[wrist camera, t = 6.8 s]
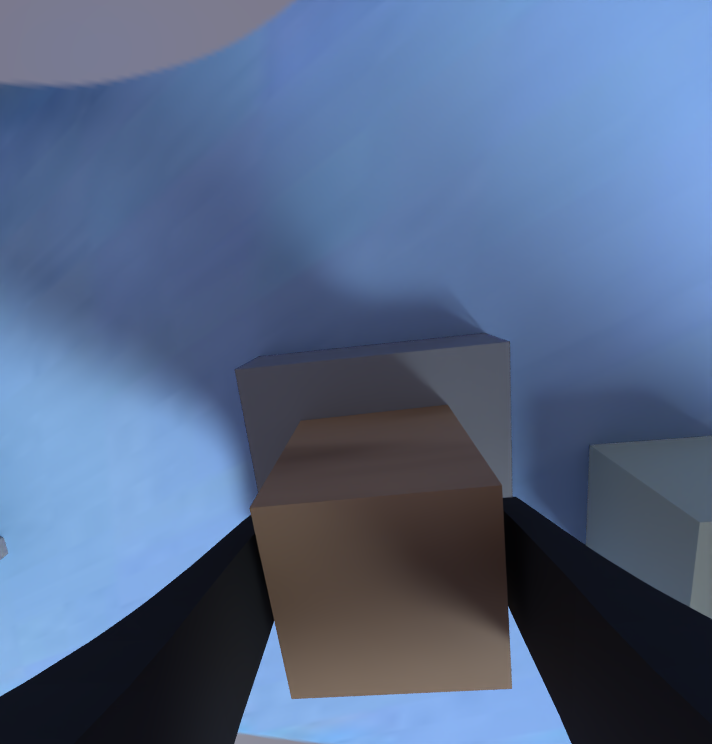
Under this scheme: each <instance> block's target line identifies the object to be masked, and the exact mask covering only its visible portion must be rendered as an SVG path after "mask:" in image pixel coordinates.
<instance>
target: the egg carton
mask: <svg viewBox="0 0 712 744" xmlns="http://www.w3.org/2000/svg"><path fill="white" fill-rule="evenodd" d="M7 554H8V550H7V547H6V543H5V540H4V538H3V537H1V536H0V560H1V559H2V558H3V557H4V556H6V555H7Z"/></svg>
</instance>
